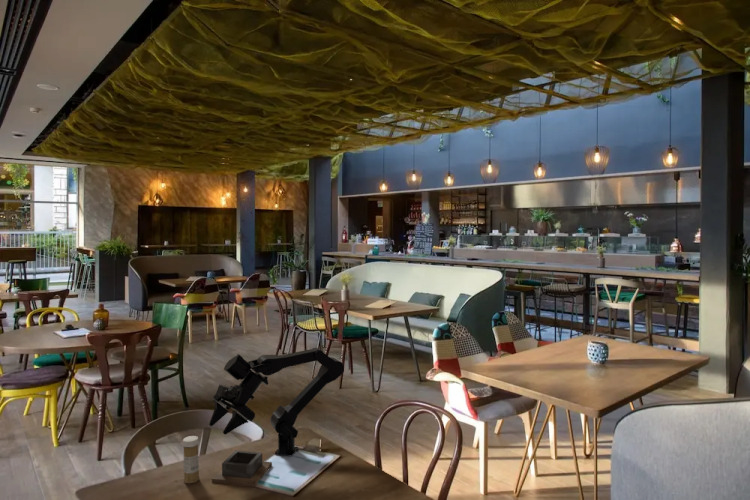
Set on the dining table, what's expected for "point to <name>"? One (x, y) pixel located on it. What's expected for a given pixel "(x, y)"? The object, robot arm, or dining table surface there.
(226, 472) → the socket board
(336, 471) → the dining table surface
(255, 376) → the robot arm
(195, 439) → the sprinkles bottle
